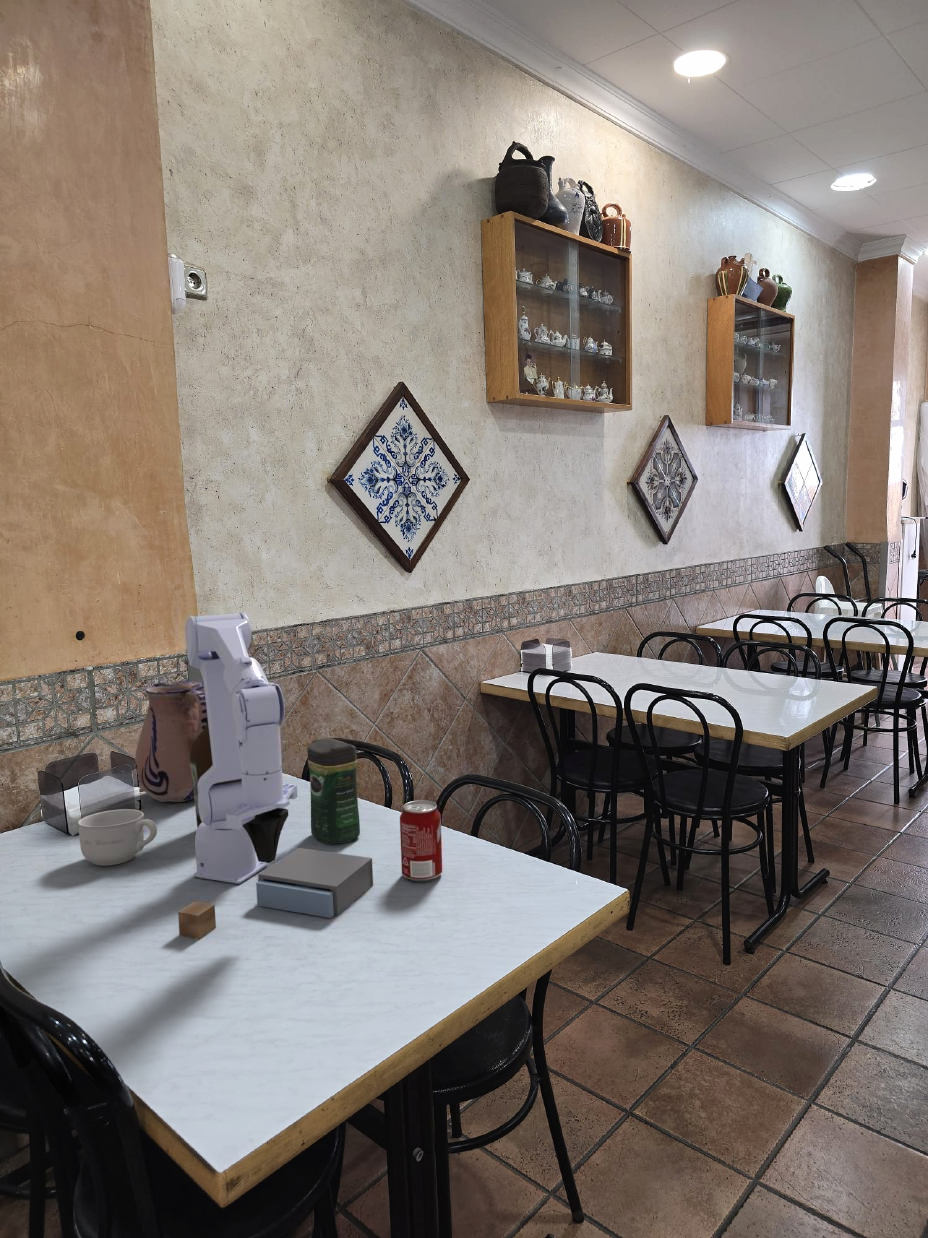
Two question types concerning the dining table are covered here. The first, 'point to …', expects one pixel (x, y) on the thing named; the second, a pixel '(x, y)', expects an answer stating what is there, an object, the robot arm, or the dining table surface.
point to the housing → (324, 874)
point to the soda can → (421, 841)
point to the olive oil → (202, 764)
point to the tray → (295, 898)
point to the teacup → (114, 836)
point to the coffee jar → (333, 791)
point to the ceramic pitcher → (170, 739)
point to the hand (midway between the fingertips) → (266, 860)
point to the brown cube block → (196, 920)
